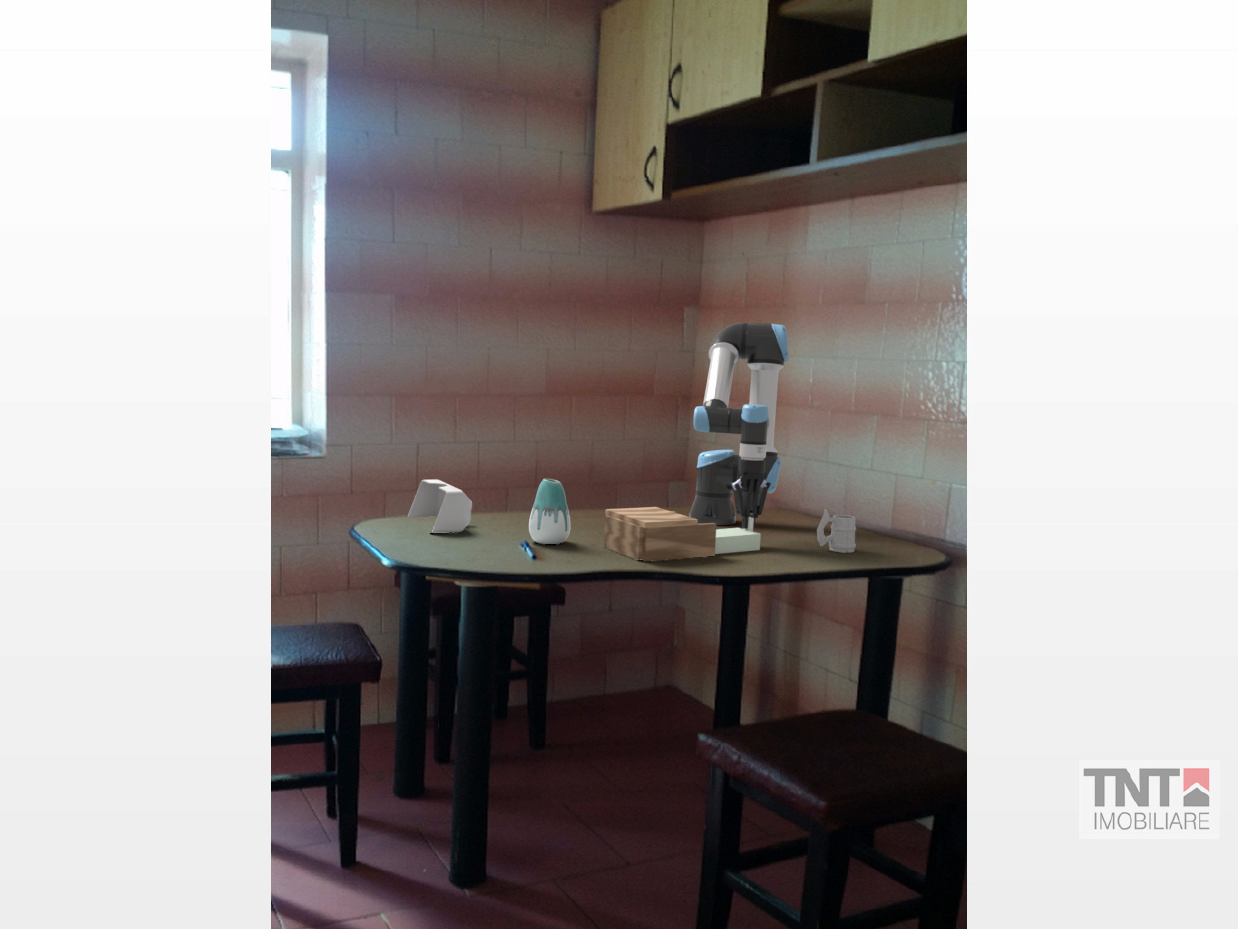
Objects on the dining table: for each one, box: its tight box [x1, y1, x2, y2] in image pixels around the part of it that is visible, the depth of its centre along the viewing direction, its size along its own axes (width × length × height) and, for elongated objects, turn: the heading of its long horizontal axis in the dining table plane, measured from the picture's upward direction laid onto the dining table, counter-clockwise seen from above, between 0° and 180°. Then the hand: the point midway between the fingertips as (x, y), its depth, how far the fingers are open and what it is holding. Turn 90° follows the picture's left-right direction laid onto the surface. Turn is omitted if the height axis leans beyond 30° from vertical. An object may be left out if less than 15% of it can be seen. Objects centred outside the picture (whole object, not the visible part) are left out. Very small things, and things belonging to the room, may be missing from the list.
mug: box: [816, 508, 857, 554], centre depth 303 cm, size 8×12×12 cm, turn 103°
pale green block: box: [715, 527, 762, 555], centre depth 298 cm, size 10×20×6 cm, turn 123°
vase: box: [528, 478, 571, 545], centre depth 294 cm, size 12×12×18 cm
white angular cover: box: [407, 478, 473, 533], centre depth 312 cm, size 25×16×12 cm, turn 27°
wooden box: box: [603, 506, 718, 562], centre depth 289 cm, size 21×24×10 cm
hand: (747, 539), depth 305 cm, fingers closed
